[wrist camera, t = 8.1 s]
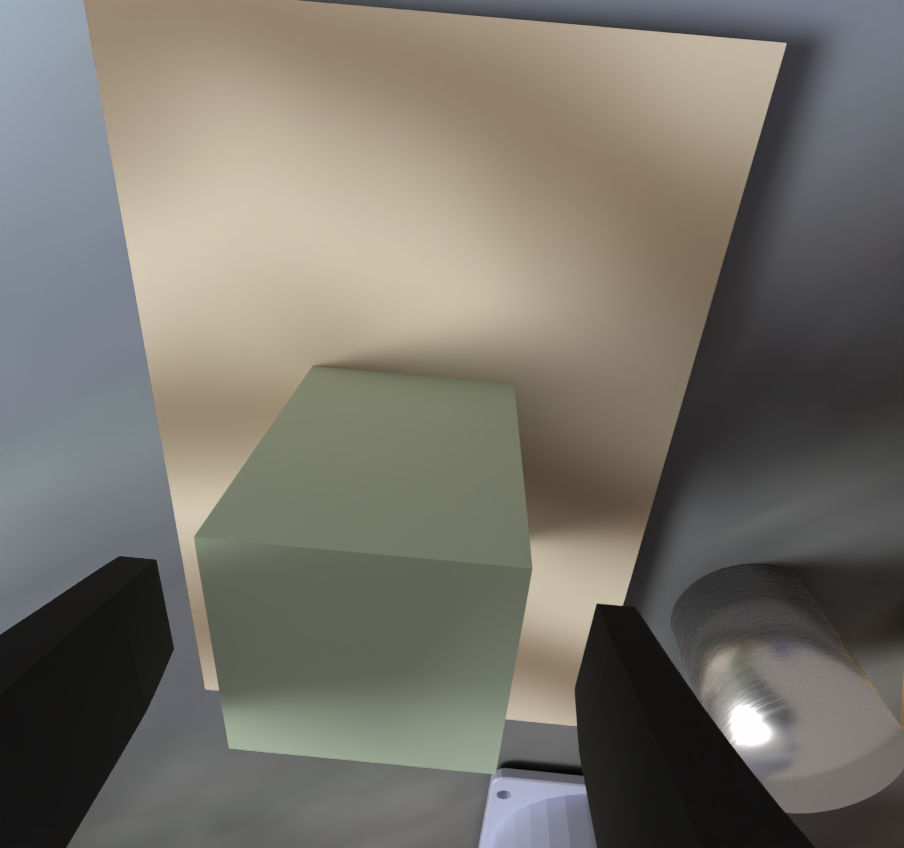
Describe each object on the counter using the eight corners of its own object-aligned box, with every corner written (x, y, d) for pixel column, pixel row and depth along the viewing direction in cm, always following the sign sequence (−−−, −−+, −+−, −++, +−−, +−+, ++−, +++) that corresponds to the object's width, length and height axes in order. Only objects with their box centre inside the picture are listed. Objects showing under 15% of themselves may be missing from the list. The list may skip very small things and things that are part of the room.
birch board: (581, 693, 19) (587, 726, 18) (220, 657, 19) (205, 689, 18) (757, 50, 11) (786, 43, 10) (118, -6, 11) (80, -19, 10)
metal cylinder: (784, 668, 18) (866, 820, 14) (656, 656, 18) (703, 804, 14) (832, 570, 17) (943, 715, 13) (690, 557, 17) (755, 697, 13)
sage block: (492, 543, 15) (495, 774, 10) (318, 527, 15) (229, 748, 10) (514, 383, 13) (532, 568, 8) (312, 366, 13) (192, 537, 8)
